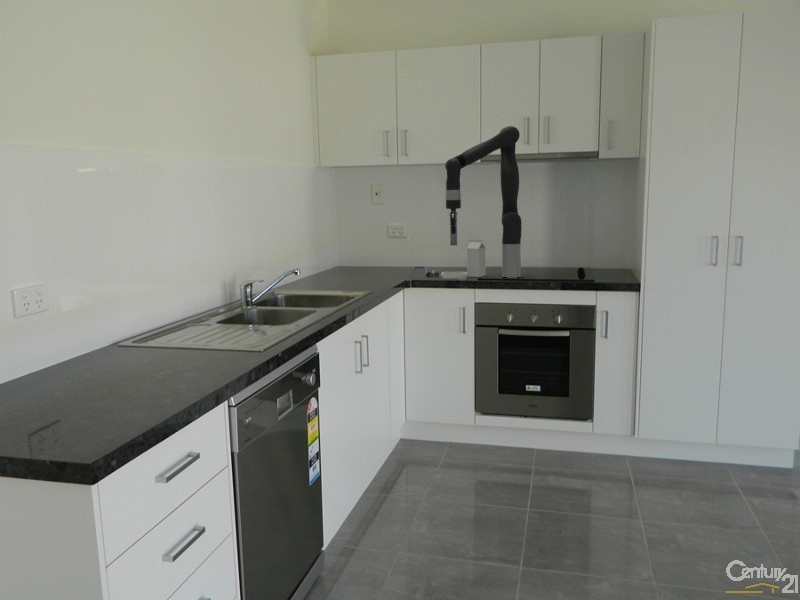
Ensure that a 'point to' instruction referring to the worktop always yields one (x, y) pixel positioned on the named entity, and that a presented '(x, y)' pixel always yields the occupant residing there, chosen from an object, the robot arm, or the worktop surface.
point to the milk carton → (475, 259)
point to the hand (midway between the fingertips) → (453, 233)
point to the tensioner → (424, 273)
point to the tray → (455, 275)
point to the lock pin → (453, 236)
